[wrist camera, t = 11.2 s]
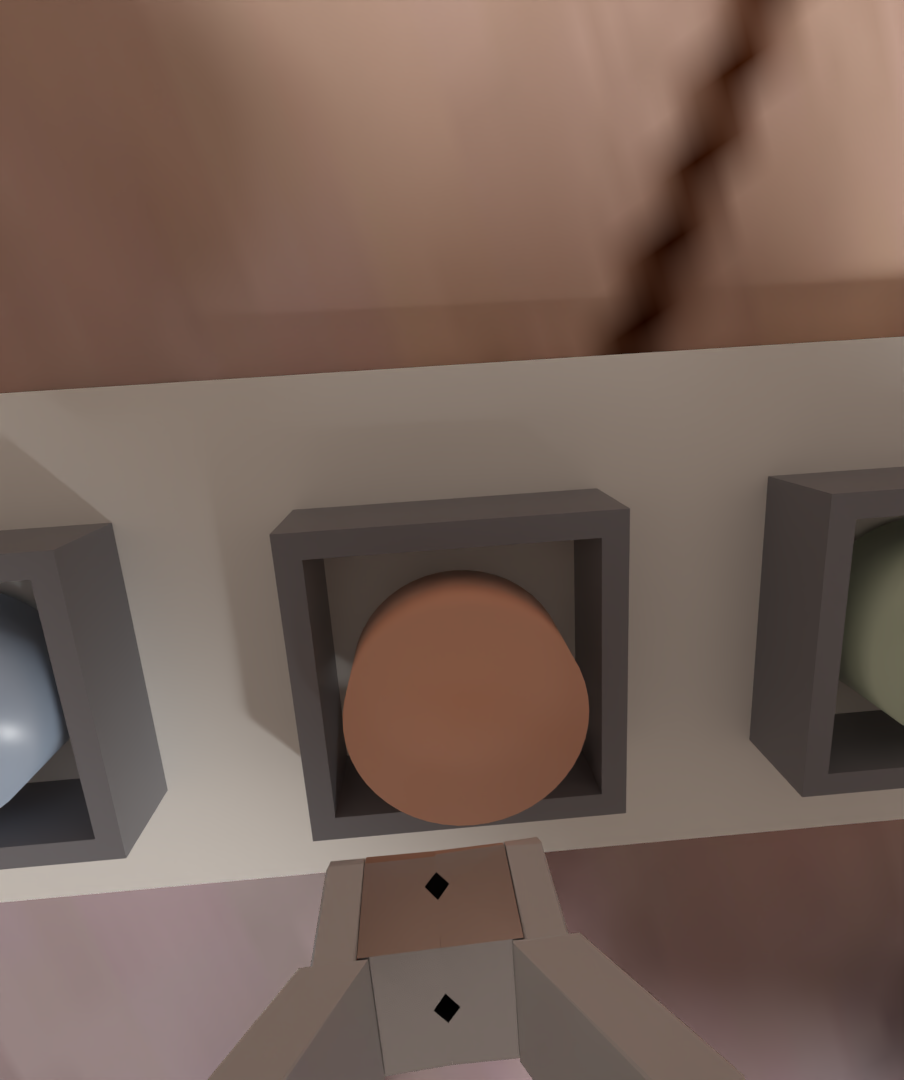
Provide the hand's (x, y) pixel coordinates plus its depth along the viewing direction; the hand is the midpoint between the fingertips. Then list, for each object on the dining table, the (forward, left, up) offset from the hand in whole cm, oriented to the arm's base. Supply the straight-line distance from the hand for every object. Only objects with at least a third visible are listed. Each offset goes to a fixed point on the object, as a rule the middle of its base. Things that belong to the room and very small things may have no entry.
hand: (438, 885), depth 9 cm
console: (-1, 0, -10) cm, 10 cm away
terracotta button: (-1, 0, -6) cm, 6 cm away
